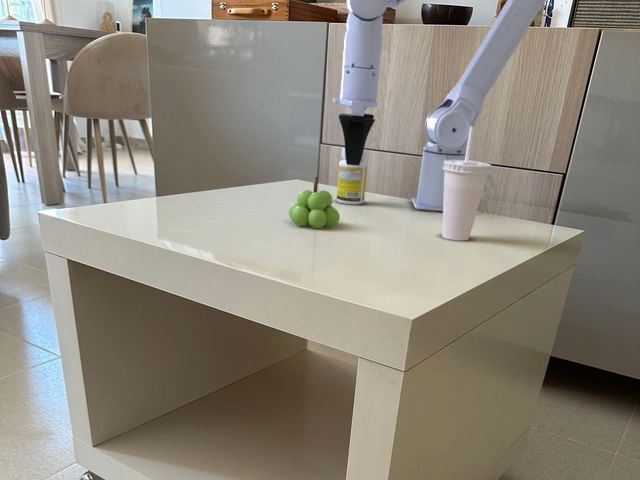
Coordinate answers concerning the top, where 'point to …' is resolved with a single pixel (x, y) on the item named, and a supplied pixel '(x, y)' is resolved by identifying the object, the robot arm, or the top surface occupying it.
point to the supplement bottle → (351, 181)
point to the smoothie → (462, 193)
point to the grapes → (314, 208)
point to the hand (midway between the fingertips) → (353, 162)
